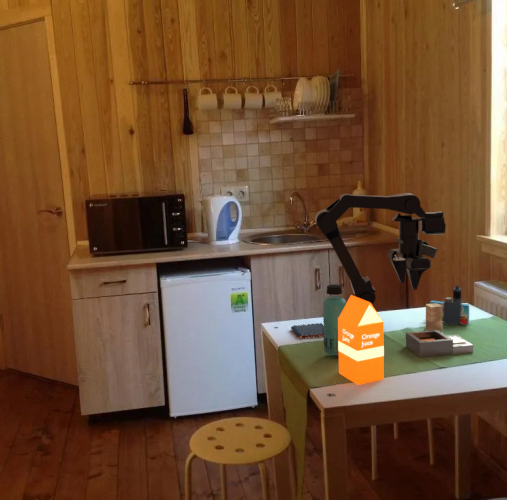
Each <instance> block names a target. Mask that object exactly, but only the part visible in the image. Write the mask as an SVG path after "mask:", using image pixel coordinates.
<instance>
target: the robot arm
mask: <svg viewBox="0 0 507 500" xmlns="http://www.w3.org/2000/svg"><path fill="white" fill-rule="evenodd" d="M350 208H356V209H357V208H358V209H378V210H390V211H394V212H396V214H395V216H393V217H392V218H391V219H392V221H393V222H398V237H397V238H396V242H397V243H398V248H391V249H390V250H388V251H387V258H388V259H389V262H390V263H391V264H392V267H393V269H394V271H395V273H396V275H397V277H398V280H399V282H400V283H401V284H405V282H406V274H407V275H408V276H407V277H408V278H409V281H410V285H411V287H412V290H415V291H416V290H418V287H419V284H420V281H421V279H422V278H421V277H422V276H423V274H424V273H425V272H426V271H428V270H429V269H430V268H432V261H431V259H435V258H436V255H437V252H438V248H437V247H434V246H431V245H429V242H428V241H425V240H422V239H420V238H419V237H420V235H419V232H421V233H422V232H423V233H422V234H423V235H425V236H428V235H429V236H430V235H433V236H434V235H436V236H437V235H445V232H446V222H445V217H444V212H442V211H435V212H426V210H424V209H423V207H422V206H421V201H420V199H419V197H418V196H417V195H415V194H413V193H410V192H404V193H403V192H402V193H396V194H392V195H370V194H369V195H368V194H351V193H350V194H349V193H343V194H341V195H340V196H339V198H337V199H336V200H334V202H332V203H331V204H330V205H328V206H327V207H326V208H324V209H320V210H319V211H317V212H316V214H315V216H314V222H315V224H316V226H317V227H318V229H319V230H320V231H321V232H322V234H323V235H324V236H325V238H326V239H327V240H328V241H329V243H330V244H331V246H332V248H333V250H334V253H335V254H336V256H337V258H338V259H339V261H340V263H341V265H342V267H343V269H344V271H345V273H346V275H347V277H348V280H349V282H350V286H351V289H352V292H353V293H352V294H351V295H353V296H355V297H358V298H360V299H363V300H366V301H368V302H370V303H371V304H372V305H373V304H374V303H376V302H375V301H376V297H377V296H376V293H377V290H376V289H375V288H374V286H373V284H372V282H371V279H370V278H369V276H368V275H367V276H365V277H363V276H362V275H361V273H360V271H359V270H358V267H357V265H356V263H355V261H354V260H353V258H352V255H351V253H350V252H349V249H348V248H347V246H346V244H345V243H344V240H343V239H342V236H341V233H340V228H339V226H338V223H337V221H338V220H339V219H340V218H341V217H342V216H343V215H344V214H345V213H346V212H347V211H348V210H349V209H350ZM400 213H402V214H403V215H402V214H400ZM413 214H414V215H415V216H417V217H412V215H413ZM425 256H426V257H425ZM428 257H429V258H431V259H429V258H428ZM349 298H350V296H349V297H348V298H347V300H346V302H348V300H349Z"/></svg>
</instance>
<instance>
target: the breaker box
mask: <svg viewBox="0 0 507 500" xmlns="http://www.w3.org/2000/svg"><path fill="white" fill-rule="evenodd" d="M432 338H434V339H436V340H430V341H421V340H422V339H432ZM405 347H406V348H408V349H409V350H410V351H411V352H413V354H415V355H416V356H417V357H419V358H428V357H429V358H430V357H437V356H446V355H457V354H466V353H467V354H468V353H474V344H472V343H471V342H470V341H468V340H466V339H464V338H463V337H461V336H459V335H458V334H449V335H447V334H445V333H443V331H442V332H440V331H439V330H428V331H426V330H420V331H410V332H407V331H406V333H405Z"/></svg>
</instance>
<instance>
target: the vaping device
mask: <svg viewBox="0 0 507 500" xmlns="http://www.w3.org/2000/svg"><path fill="white" fill-rule="evenodd" d="M452 290H453V291H452V297H451V296H450V297H448V296H447V297H445V299H444V301H443V302H444V322H443V323H444V324H445V325H461V324H460V309H461V304H462V288H461V287H460V285H455V287H453V288H452Z"/></svg>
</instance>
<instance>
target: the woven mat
mask: <svg viewBox="0 0 507 500" xmlns="http://www.w3.org/2000/svg"><path fill="white" fill-rule="evenodd" d="M290 330H291V332H293V333H294V334H295V336H296V337H297V338H298V339H299V340H303V339H304V340H305V339H306V340H307V339H309V340H310V339H318V338H319V339H321V338H324V336H323V335H324V332H323V330H324V324H323V323H322V322H320V323H318V322H315V323H310V324H309V323H307V324H297V325H296V324H294V325H292V326H290Z"/></svg>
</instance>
